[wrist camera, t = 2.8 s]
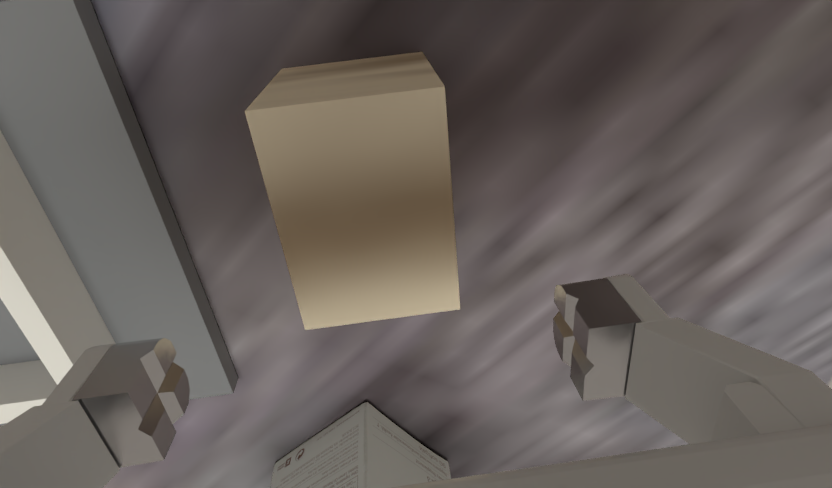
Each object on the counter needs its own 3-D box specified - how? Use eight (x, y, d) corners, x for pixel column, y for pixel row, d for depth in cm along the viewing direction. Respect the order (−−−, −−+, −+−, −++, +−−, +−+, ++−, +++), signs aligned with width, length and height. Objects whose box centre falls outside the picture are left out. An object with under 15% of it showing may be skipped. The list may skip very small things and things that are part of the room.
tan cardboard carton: (281, 68, 17) (244, 111, 12) (421, 51, 17) (444, 86, 12) (321, 239, 21) (305, 330, 15) (437, 224, 21) (460, 309, 16)
